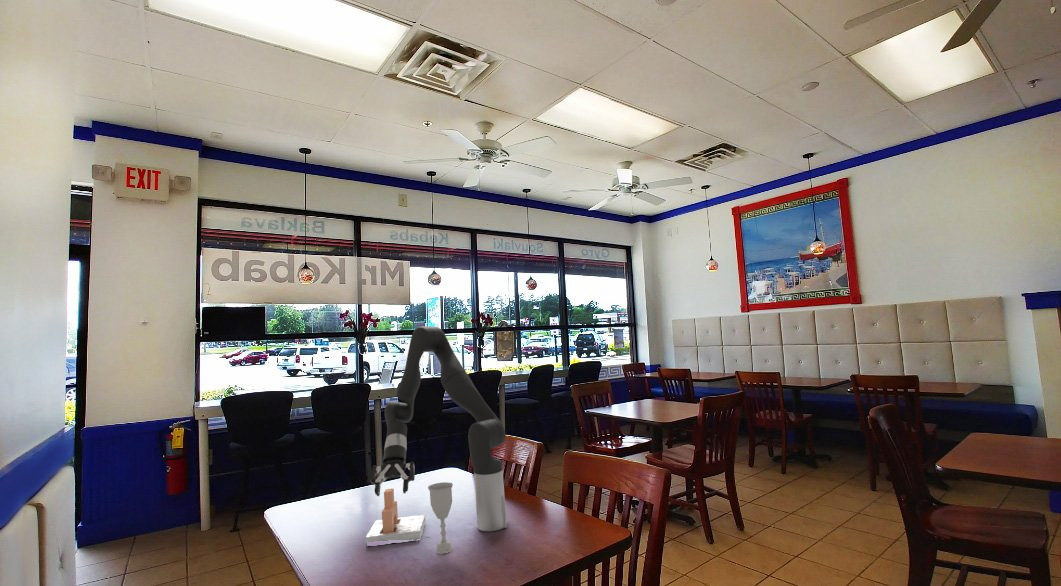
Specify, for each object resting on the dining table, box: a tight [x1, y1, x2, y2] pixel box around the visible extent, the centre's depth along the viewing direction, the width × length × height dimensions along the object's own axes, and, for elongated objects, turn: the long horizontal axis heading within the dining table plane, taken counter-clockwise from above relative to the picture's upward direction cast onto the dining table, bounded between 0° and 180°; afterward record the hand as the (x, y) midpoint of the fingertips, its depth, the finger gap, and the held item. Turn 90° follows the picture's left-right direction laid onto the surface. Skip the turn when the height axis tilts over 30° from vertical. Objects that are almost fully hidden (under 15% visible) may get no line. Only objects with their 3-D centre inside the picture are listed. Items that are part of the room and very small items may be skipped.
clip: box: [381, 488, 399, 533], centre depth 157 cm, size 3×10×14 cm, turn 5°
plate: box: [365, 514, 426, 543], centre depth 156 cm, size 16×14×3 cm
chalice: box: [427, 481, 454, 554], centre depth 143 cm, size 7×7×18 cm
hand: (391, 493), depth 161 cm, fingers open, 8 cm apart
